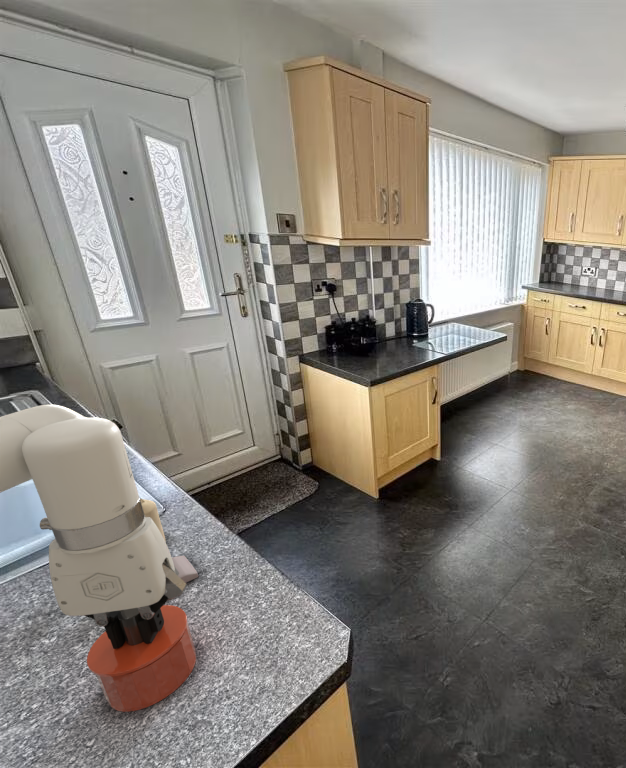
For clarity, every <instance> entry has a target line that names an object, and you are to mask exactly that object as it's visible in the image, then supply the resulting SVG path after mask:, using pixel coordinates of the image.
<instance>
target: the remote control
mask: <svg viewBox="0 0 626 768" xmlns="http://www.w3.org/2000/svg"><path fill="white" fill-rule="evenodd" d="M171 557H172V560H173V564H174V568H175V574H176V575H177V576H179V577H180V578H181V579H182V580H183V581H184V582H185V583H186V584H187V583H188V582H191V581H192V580H195V579H197V578H199V574H198V572H197V570H196V568H195V567H194V566H193V564H192V563H191V562H190V561H189V560H188V558H187V557H186V556H185V555H178V556H171ZM201 561H202V559H201Z"/></svg>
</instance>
